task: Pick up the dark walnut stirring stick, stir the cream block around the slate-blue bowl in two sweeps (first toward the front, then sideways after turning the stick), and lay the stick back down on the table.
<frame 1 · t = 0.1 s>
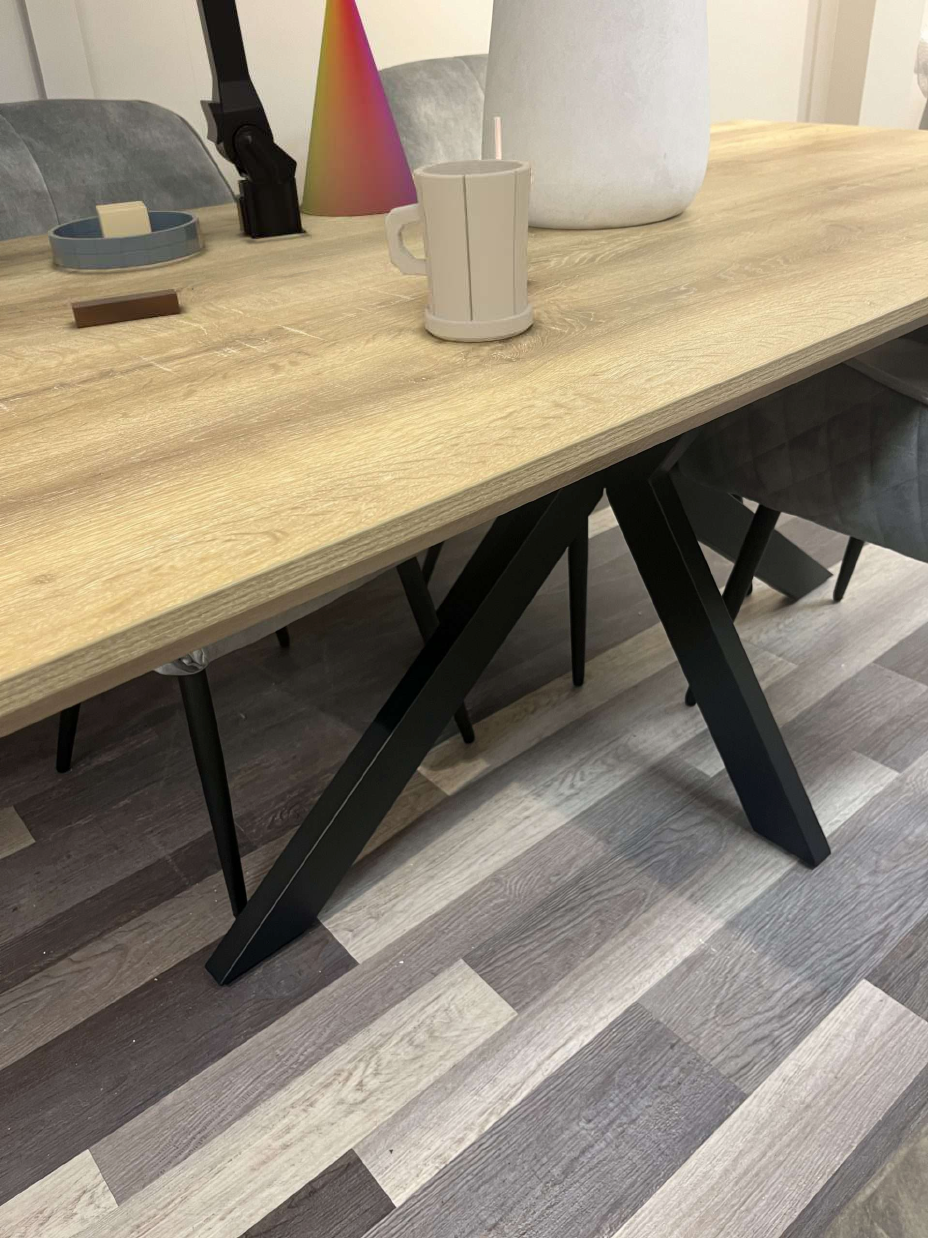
cup: (469, 331, 80), on the table
stick: (128, 317, 89), on the table
smoothie: (500, 287, 92), on the table
bowl: (131, 256, 112), on the table
decorative cone: (361, 205, 134), on the table
block: (131, 253, 111), resting on bowl
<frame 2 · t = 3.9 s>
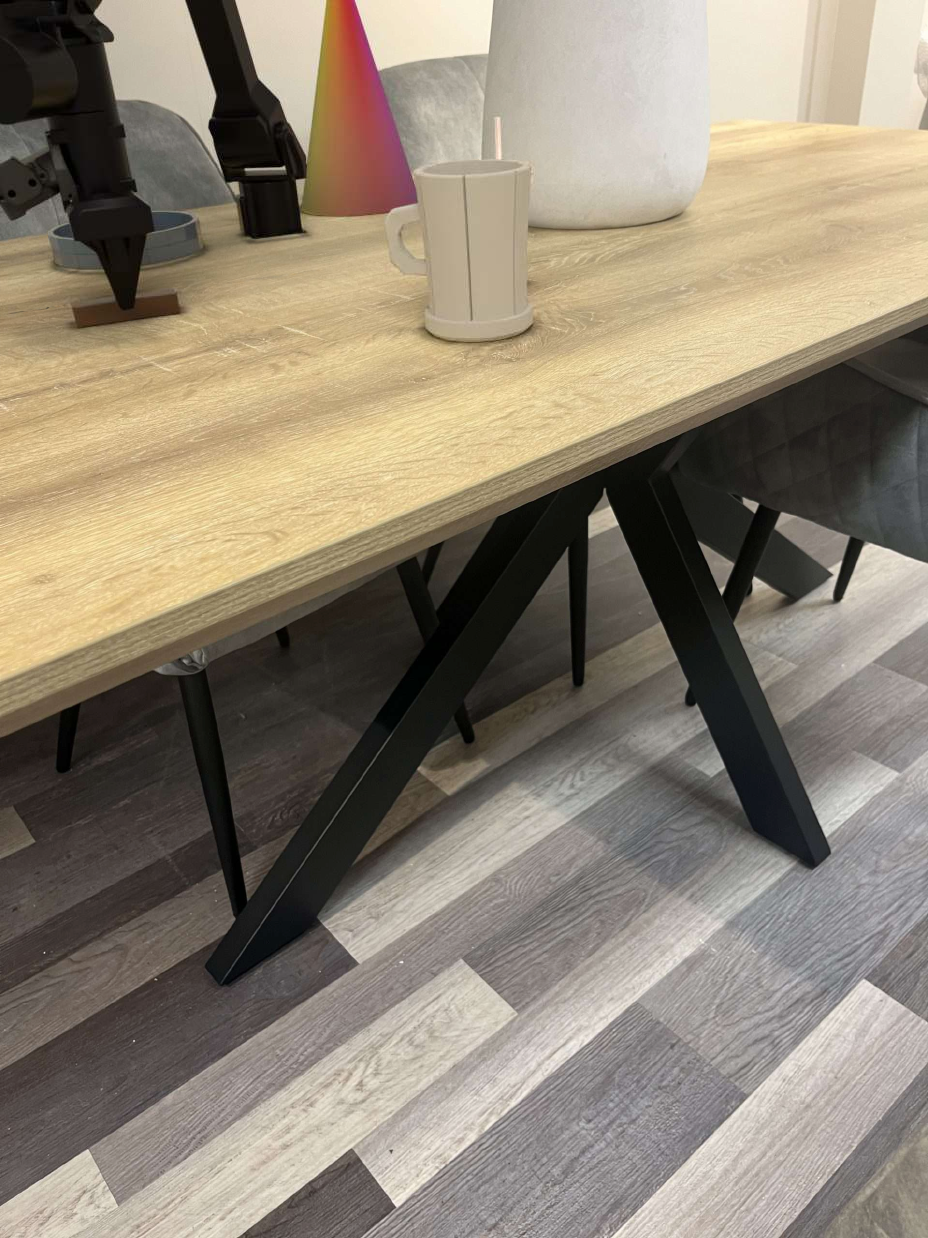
hand: (126, 306, 88), 1 cm above the table, tool pointing down, fingers closed on stick, 2 cm apart
stick: (128, 317, 89), on the table, touching gripper
everything else where it was.
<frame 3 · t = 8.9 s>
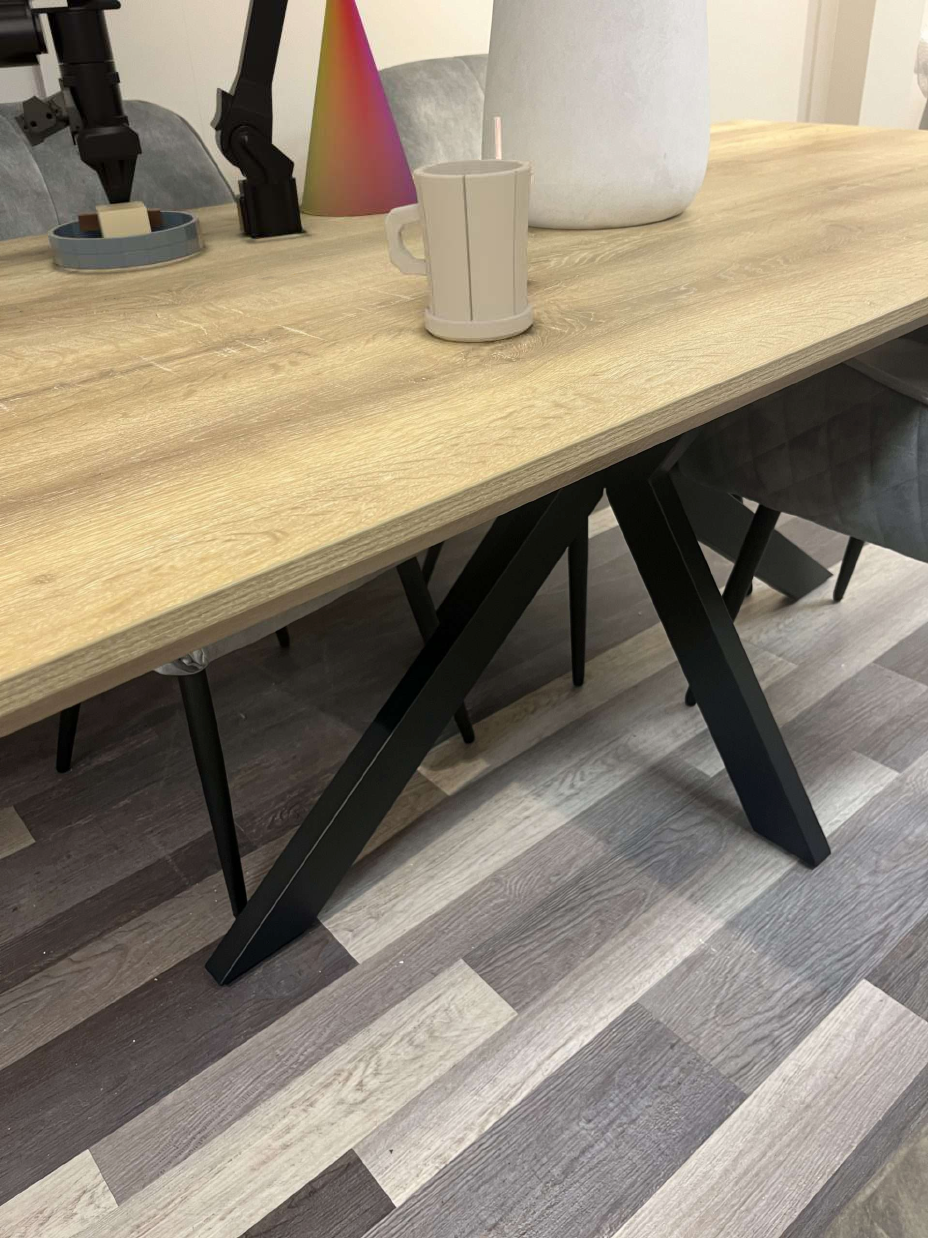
hand: (121, 218, 113), 4 cm above the table, tool pointing down, fingers closed on stick
stick: (121, 227, 114), point 3 cm above the table, touching gripper
block: (130, 253, 111), point 1 cm above the table, touching bowl, gripper
everything else where it was.
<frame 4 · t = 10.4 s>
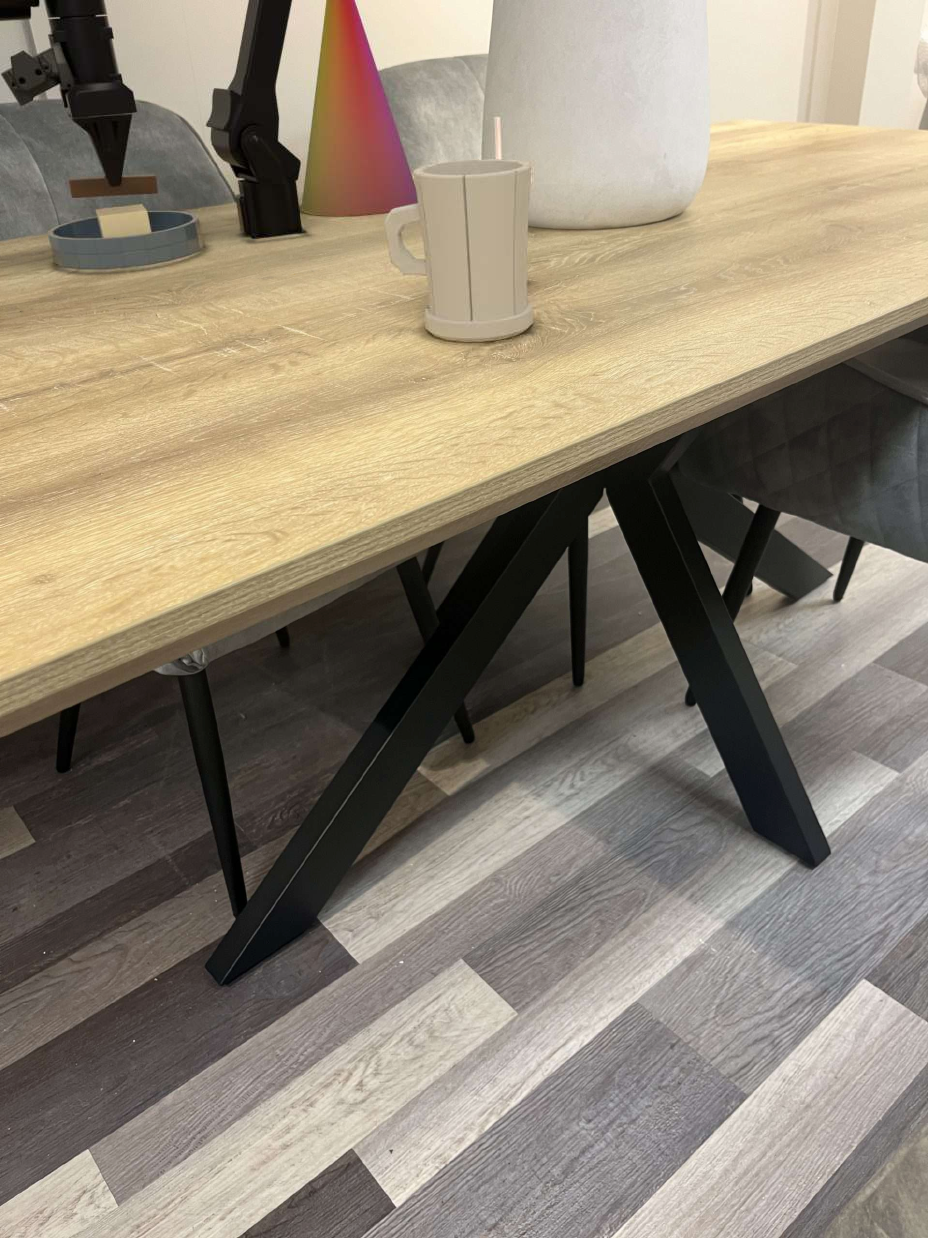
hand: (114, 184, 108), 8 cm above the table, tool pointing down, fingers closed on stick
stick: (114, 194, 108), point 7 cm above the table, touching gripper
block: (131, 258, 109), point 1 cm above the table, touching bowl
everything else where it was.
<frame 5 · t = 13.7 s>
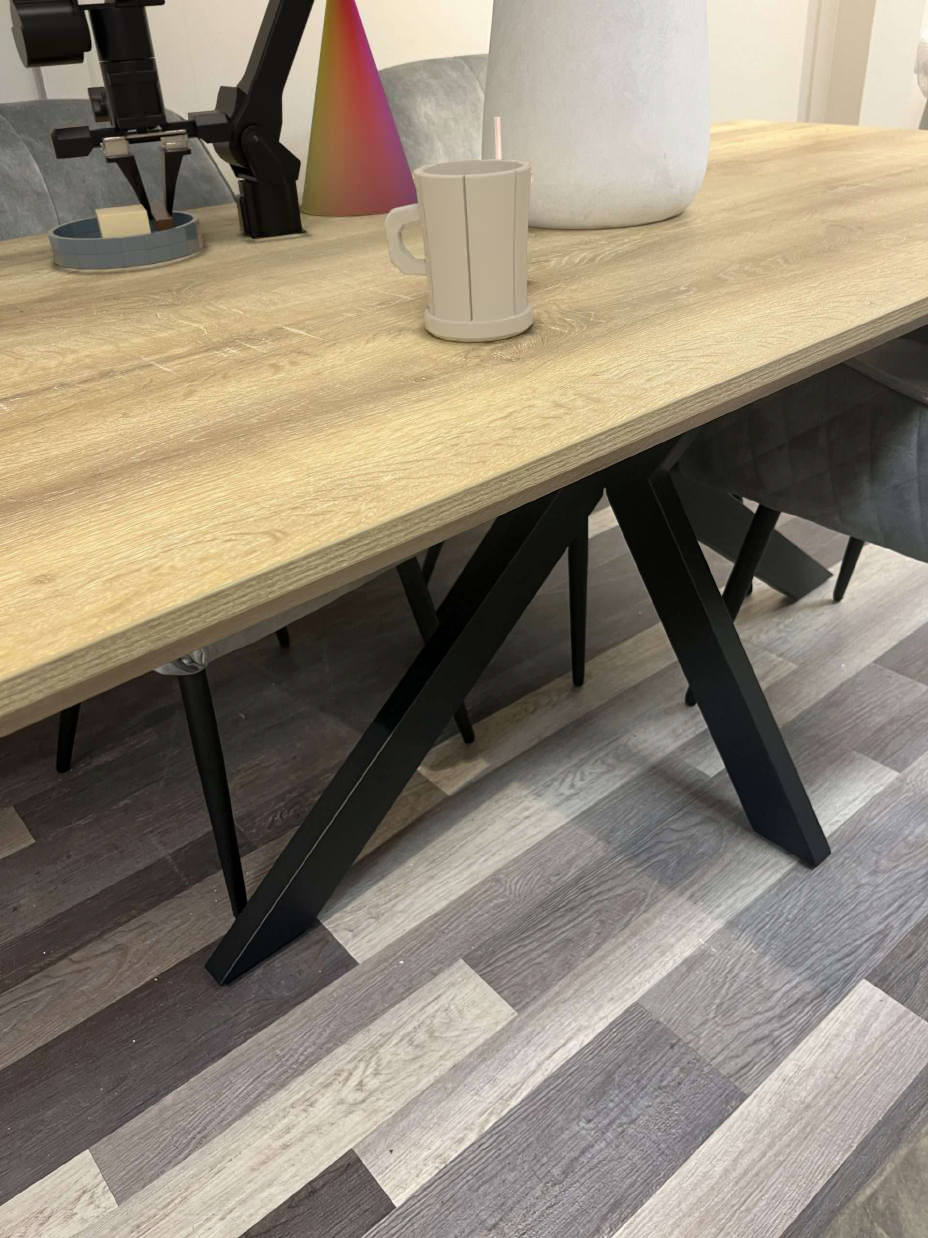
hand: (160, 218, 112), 4 cm above the table, tool pointing down, fingers closed on stick
stick: (162, 226, 112), point 3 cm above the table, touching gripper
everything else where it was.
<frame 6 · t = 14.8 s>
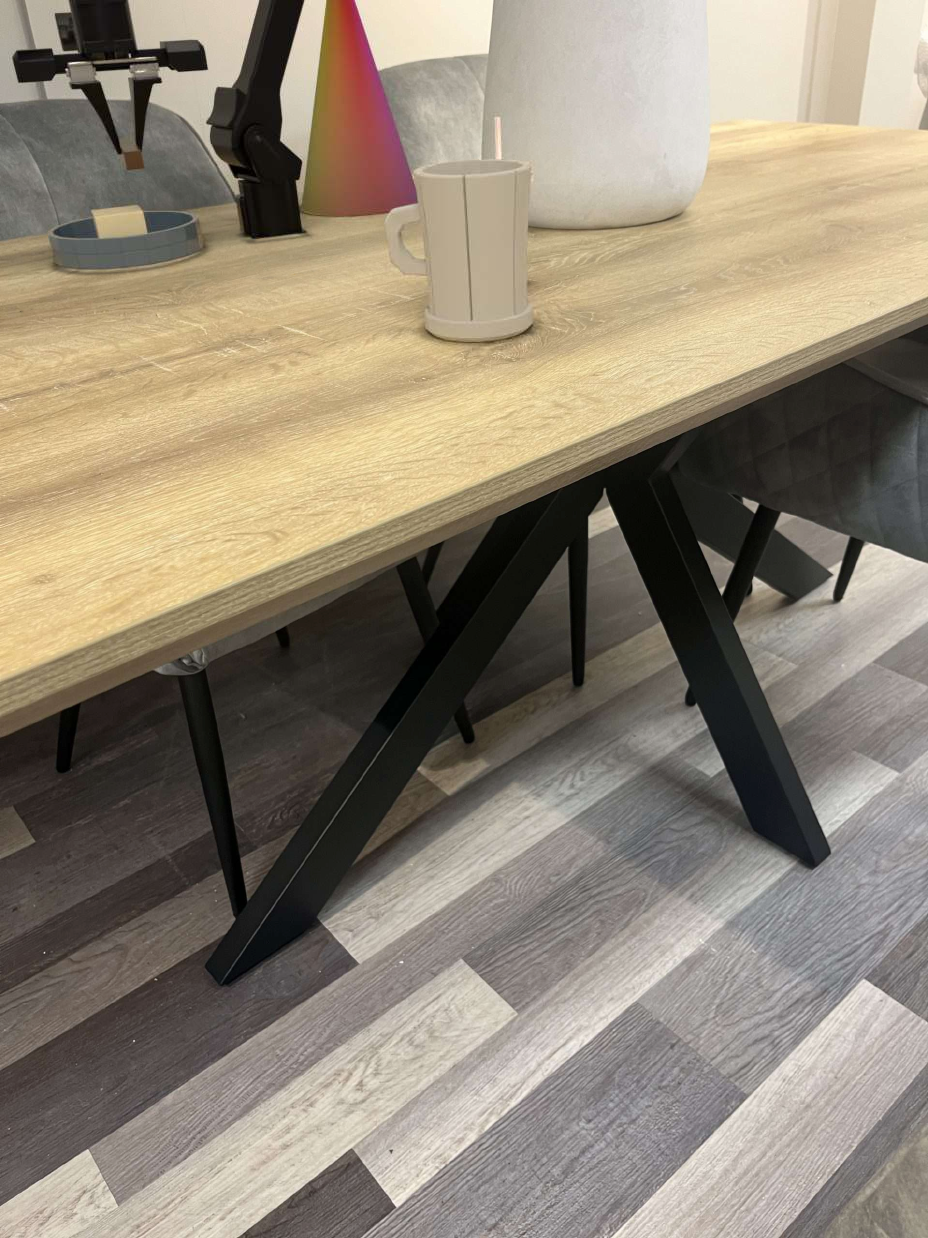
hand: (129, 152, 106), 11 cm above the table, tool pointing down, fingers closed on stick
stick: (131, 162, 107), point 10 cm above the table, touching gripper
everything else where it was.
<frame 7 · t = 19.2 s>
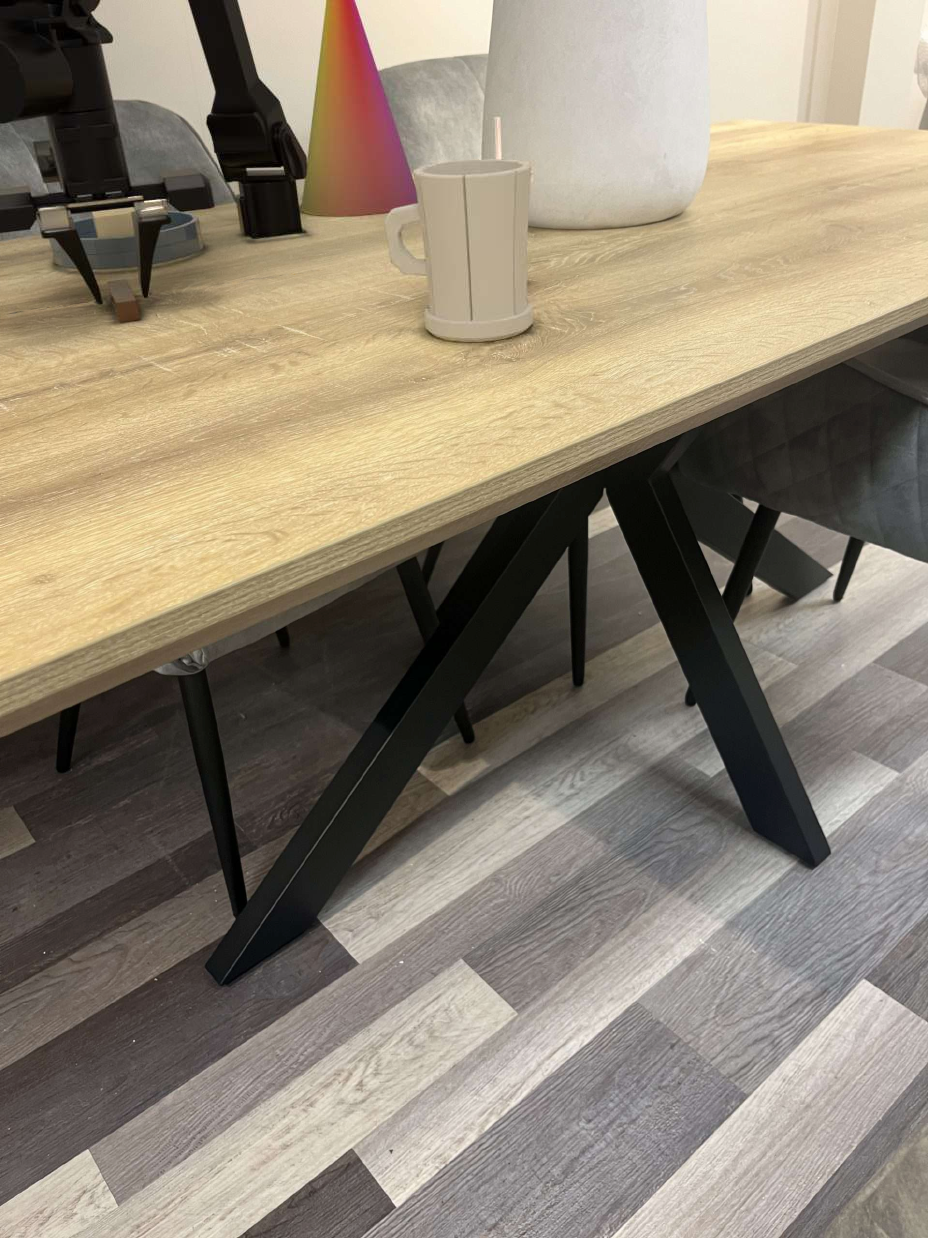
hand: (123, 300, 91), 1 cm above the table, tool pointing down, fingers open, 4 cm apart
stick: (125, 309, 92), on the table
everything else where it was.
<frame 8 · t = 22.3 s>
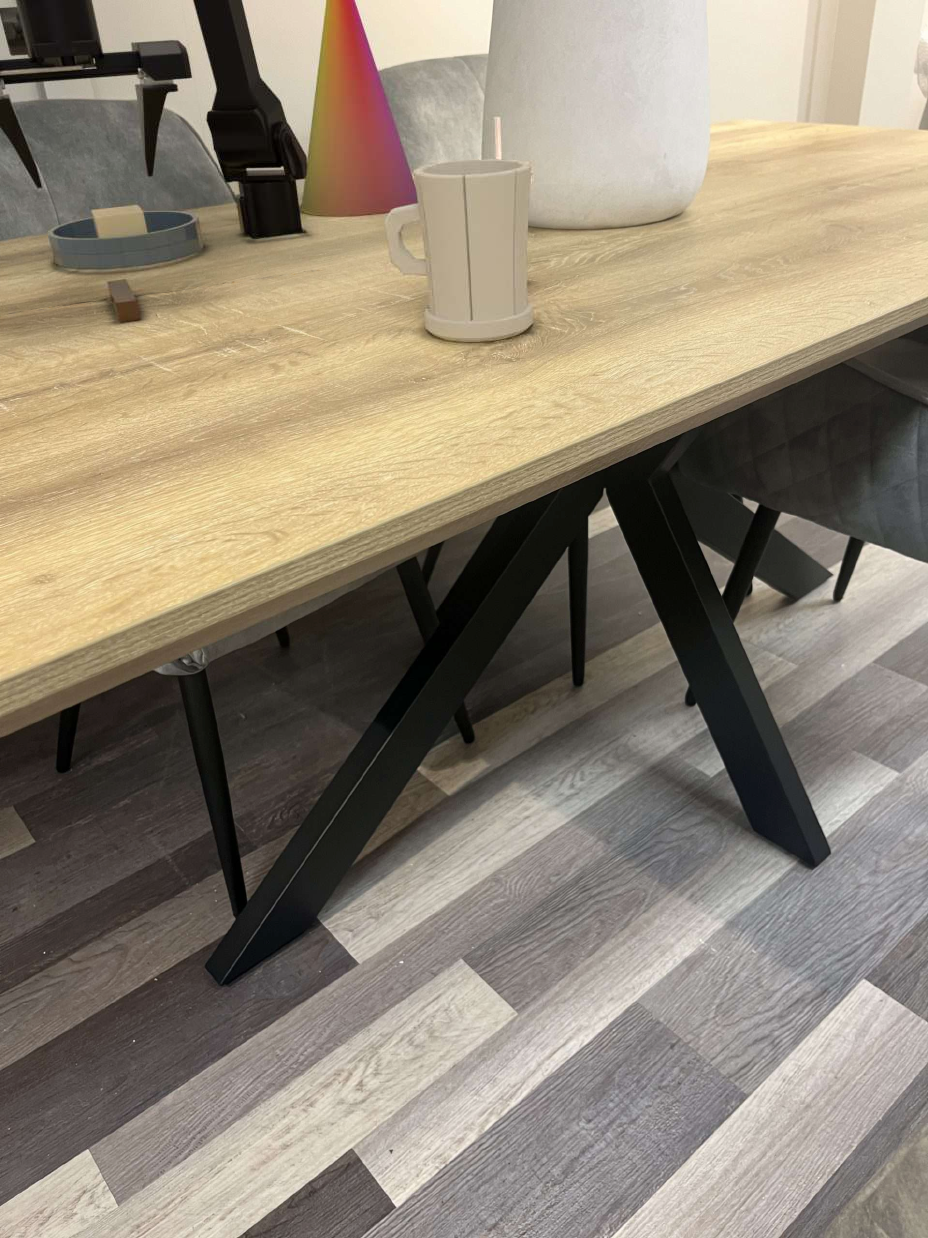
hand: (95, 181, 86), 11 cm above the table, tool pointing down, fingers open, 9 cm apart
nothing on the table moved.
at the end: block moved 2.8 cm from its start; block inside the target area in the bowl (3.7 cm from its centre), point 0.5 cm above the bowl's base; stick inside the target area (0.2 cm from its centre), on the table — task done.
